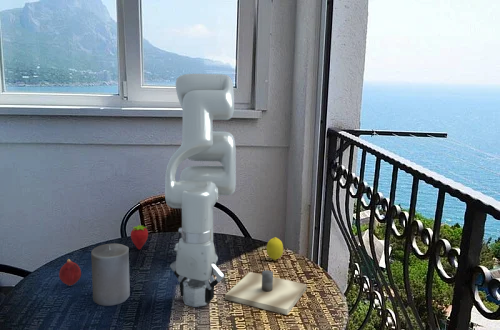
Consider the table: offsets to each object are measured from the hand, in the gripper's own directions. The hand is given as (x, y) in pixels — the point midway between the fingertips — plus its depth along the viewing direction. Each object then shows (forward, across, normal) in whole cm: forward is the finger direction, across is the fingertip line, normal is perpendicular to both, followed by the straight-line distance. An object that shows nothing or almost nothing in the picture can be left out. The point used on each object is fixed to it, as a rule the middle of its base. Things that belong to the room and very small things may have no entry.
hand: (196, 297), depth 123 cm
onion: (+2, -37, -8) cm, 38 cm away
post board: (+1, +15, +13) cm, 20 cm away
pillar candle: (+2, -22, -8) cm, 23 cm away
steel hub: (+1, 0, 0) cm, 1 cm away
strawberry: (+2, -37, +23) cm, 43 cm away
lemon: (+2, +8, +36) cm, 37 cm away
